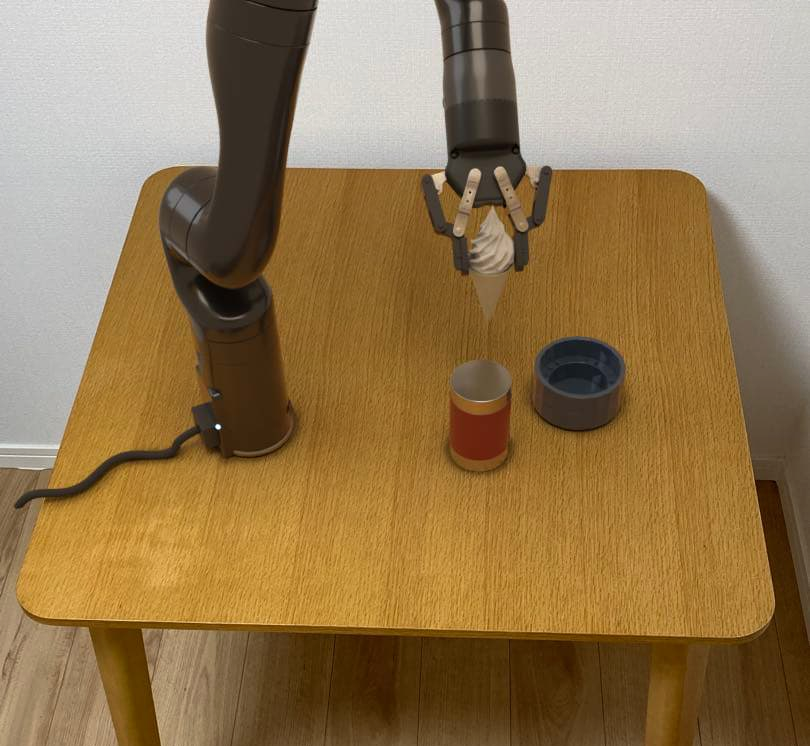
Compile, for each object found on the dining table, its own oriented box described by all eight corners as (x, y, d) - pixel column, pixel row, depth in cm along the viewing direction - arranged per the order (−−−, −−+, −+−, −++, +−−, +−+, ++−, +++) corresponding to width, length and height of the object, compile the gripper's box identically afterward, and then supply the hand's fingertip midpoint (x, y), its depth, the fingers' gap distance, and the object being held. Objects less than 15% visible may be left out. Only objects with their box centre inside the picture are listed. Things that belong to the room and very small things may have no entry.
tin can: (466, 480, 133) (467, 410, 124) (439, 441, 137) (438, 370, 128) (518, 460, 135) (523, 389, 126) (491, 422, 139) (493, 351, 130)
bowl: (559, 443, 136) (563, 409, 132) (516, 387, 142) (518, 352, 138) (637, 414, 139) (643, 380, 134) (591, 360, 145) (595, 325, 140)
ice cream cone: (508, 337, 129) (512, 222, 117) (462, 332, 130) (462, 218, 118) (514, 306, 132) (519, 192, 120) (469, 302, 133) (470, 188, 121)
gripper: (412, 100, 118) (426, 274, 120) (555, 90, 118) (567, 263, 120) (409, 119, 125) (422, 282, 127) (543, 109, 126) (554, 272, 128)
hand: (492, 272), depth 124 cm, fingers closed on ice cream cone, 5 cm apart
